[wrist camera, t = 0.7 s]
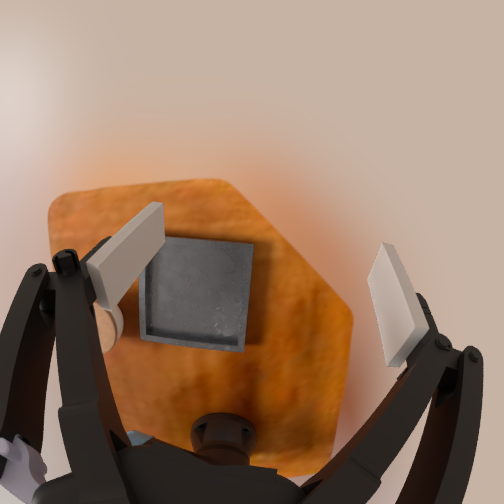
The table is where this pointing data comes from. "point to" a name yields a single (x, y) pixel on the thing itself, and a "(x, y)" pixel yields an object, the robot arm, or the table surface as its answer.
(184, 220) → the table surface
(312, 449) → the table surface
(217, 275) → the tray
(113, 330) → the lidded jar
